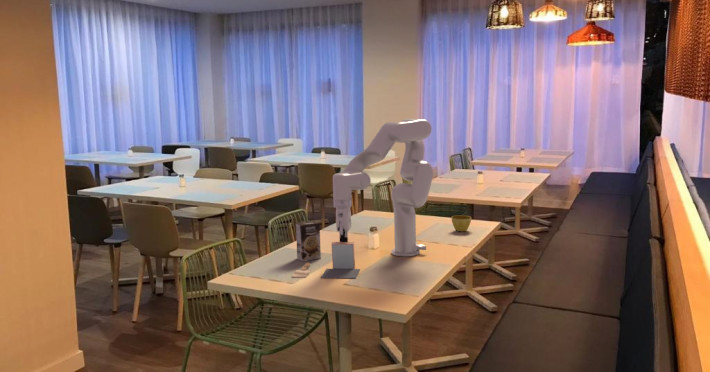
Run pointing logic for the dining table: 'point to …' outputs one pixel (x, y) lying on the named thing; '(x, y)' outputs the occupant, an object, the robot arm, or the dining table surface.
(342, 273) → the charcoal mat
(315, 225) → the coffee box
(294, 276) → the beech turner
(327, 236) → the dining table surface
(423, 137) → the robot arm
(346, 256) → the pale grey upright block
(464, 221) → the flower pot
